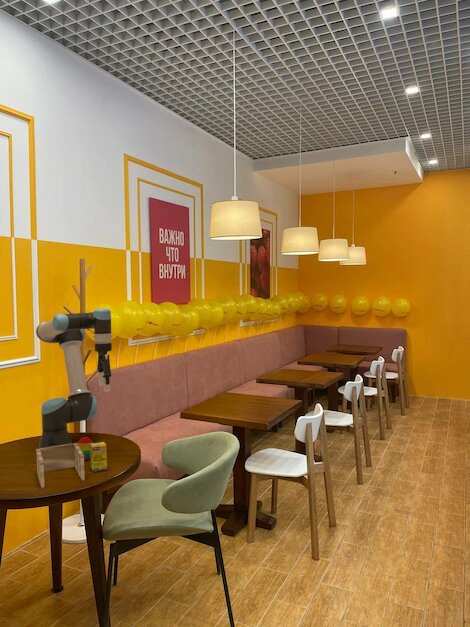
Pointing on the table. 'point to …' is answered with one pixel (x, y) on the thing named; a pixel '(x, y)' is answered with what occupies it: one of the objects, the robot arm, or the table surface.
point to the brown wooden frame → (59, 460)
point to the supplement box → (98, 456)
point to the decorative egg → (85, 447)
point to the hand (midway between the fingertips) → (104, 388)
